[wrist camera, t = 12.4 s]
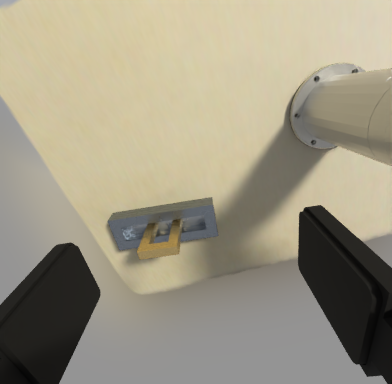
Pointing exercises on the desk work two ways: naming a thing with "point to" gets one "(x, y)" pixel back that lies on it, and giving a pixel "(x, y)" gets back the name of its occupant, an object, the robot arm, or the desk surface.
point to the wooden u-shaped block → (164, 248)
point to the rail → (164, 222)
